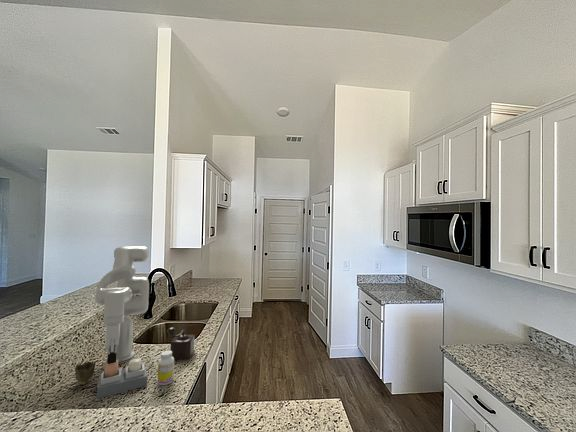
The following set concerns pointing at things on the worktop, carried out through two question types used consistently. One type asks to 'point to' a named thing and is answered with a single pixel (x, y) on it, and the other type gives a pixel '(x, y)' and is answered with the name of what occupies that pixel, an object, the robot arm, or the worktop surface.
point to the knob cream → (135, 365)
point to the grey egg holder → (121, 381)
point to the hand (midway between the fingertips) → (111, 362)
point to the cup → (84, 372)
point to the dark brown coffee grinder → (181, 344)
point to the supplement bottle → (166, 368)
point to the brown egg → (111, 369)
